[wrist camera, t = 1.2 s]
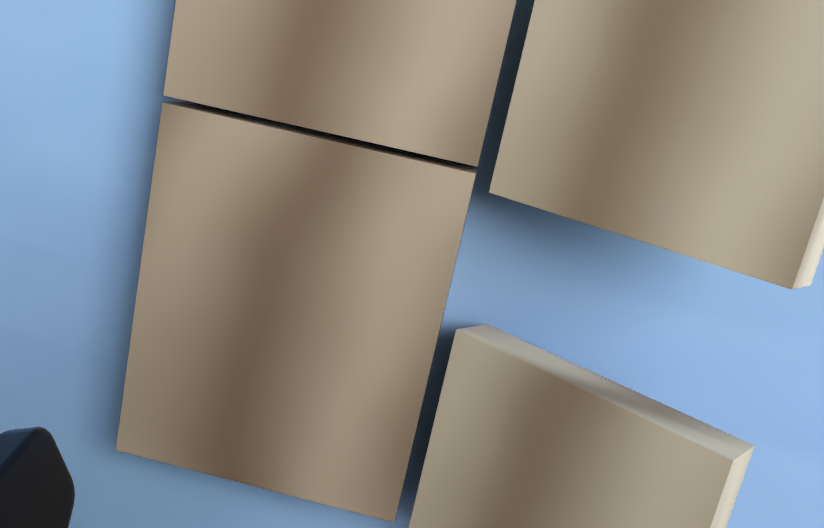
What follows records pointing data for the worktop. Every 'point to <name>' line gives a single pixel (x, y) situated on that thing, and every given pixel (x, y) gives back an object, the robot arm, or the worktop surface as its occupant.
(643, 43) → the oak plank
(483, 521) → the oak plank
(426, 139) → the cardboard box
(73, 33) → the worktop surface
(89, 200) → the worktop surface
